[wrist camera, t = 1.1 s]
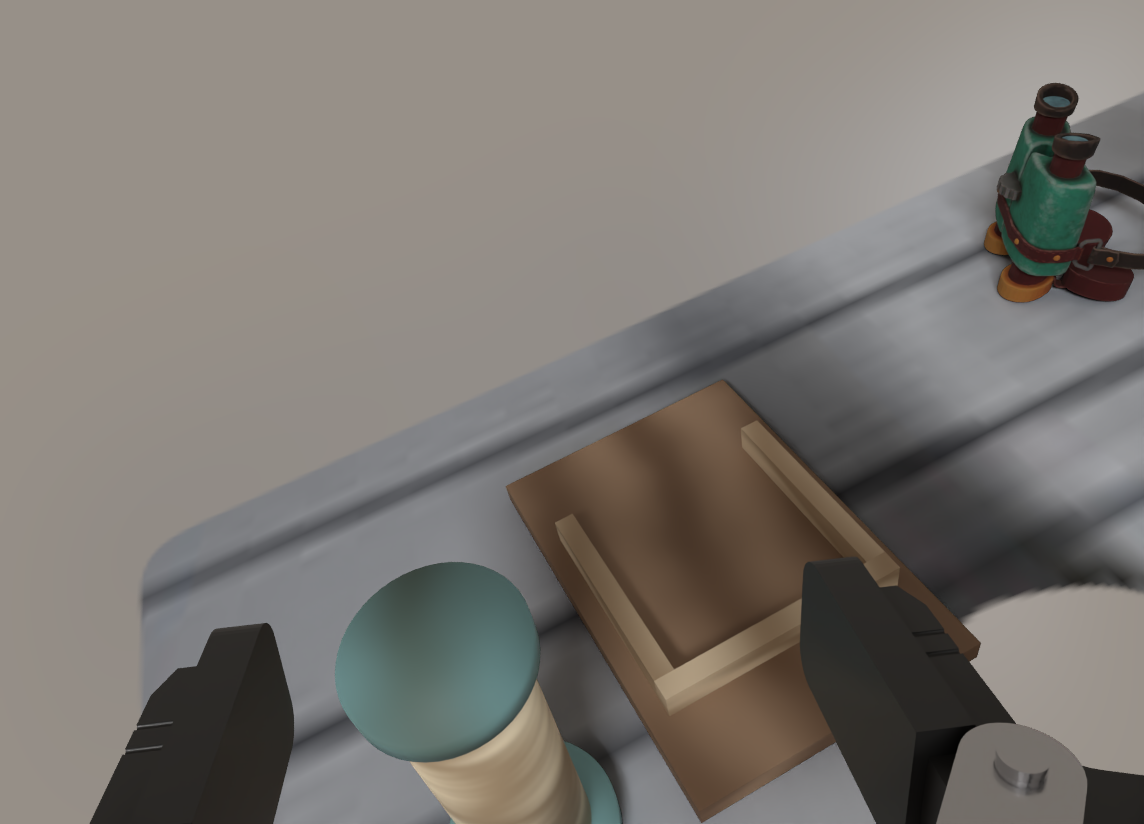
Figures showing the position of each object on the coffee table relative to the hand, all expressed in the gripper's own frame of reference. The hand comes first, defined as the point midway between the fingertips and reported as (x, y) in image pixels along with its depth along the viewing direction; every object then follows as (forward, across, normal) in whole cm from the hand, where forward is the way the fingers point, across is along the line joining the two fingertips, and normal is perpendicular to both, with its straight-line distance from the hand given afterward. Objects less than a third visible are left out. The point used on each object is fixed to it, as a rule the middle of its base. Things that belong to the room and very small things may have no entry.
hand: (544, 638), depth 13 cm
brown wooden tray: (+25, -9, +17) cm, 32 cm away
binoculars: (+40, -35, +8) cm, 53 cm away
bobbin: (+16, +1, +22) cm, 27 cm away
